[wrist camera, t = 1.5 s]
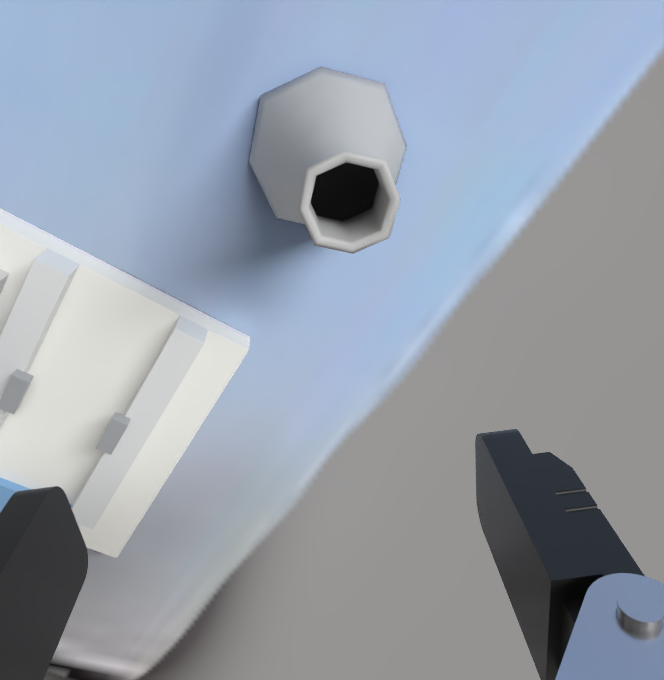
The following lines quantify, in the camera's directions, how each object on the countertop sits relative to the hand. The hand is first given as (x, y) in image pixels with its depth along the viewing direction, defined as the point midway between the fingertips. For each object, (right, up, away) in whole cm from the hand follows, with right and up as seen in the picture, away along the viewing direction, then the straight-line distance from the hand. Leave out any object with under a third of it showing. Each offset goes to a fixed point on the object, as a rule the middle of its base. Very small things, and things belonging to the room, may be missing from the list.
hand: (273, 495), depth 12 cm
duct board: (-15, +1, +19) cm, 25 cm away
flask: (+1, +12, +16) cm, 20 cm away
